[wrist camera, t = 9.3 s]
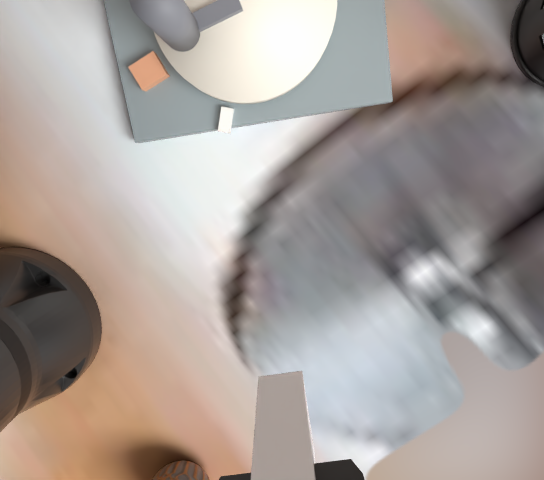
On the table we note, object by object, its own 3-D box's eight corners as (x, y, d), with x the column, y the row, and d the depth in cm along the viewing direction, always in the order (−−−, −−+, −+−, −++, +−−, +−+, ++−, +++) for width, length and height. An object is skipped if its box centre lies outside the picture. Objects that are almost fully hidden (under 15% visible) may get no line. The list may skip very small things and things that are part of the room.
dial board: (141, 148, 36) (132, 148, 34) (92, -75, 32) (78, -91, 30) (389, 108, 35) (396, 106, 32) (369, -128, 31) (375, -148, 29)
